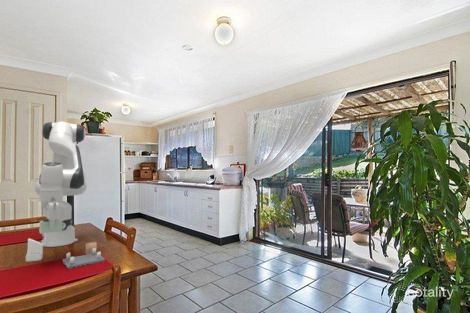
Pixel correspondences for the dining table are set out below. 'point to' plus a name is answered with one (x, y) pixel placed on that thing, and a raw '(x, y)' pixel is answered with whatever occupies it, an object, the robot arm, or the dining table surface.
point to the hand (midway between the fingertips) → (50, 227)
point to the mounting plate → (83, 259)
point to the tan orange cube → (90, 247)
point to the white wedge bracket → (34, 250)
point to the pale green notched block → (45, 226)
